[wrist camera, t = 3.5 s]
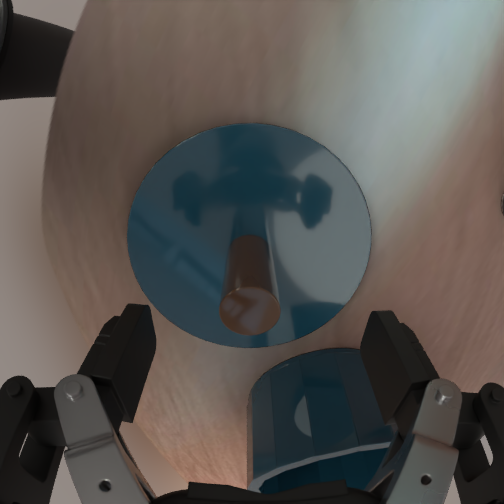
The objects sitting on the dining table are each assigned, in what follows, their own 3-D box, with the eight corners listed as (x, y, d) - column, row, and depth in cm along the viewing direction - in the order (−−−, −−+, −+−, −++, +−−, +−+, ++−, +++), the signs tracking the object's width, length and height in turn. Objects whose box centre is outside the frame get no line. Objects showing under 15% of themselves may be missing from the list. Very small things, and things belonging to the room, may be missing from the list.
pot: (221, 412, 24) (216, 494, 17) (311, 324, 20) (338, 432, 12) (324, 439, 27) (335, 505, 20) (412, 372, 23) (446, 445, 15)
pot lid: (105, 275, 18) (62, 337, 12) (207, 75, 13) (180, 50, 7) (278, 361, 21) (285, 431, 16) (405, 214, 16) (464, 262, 11)
